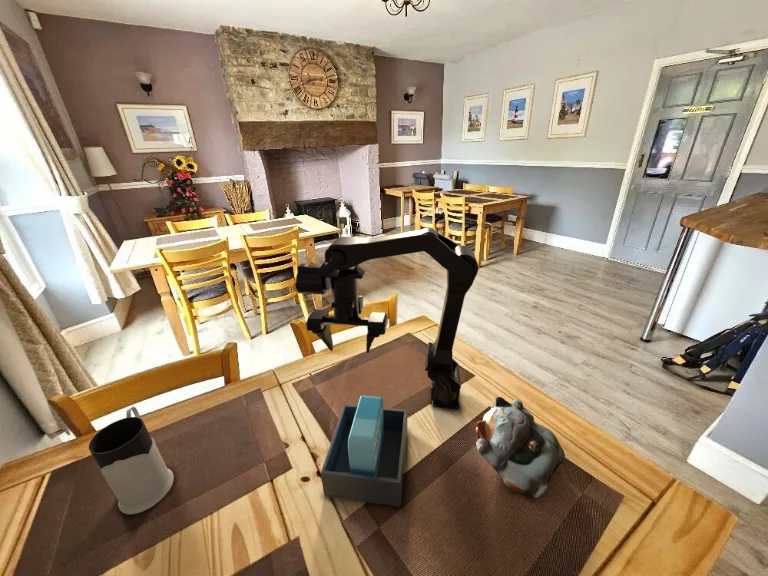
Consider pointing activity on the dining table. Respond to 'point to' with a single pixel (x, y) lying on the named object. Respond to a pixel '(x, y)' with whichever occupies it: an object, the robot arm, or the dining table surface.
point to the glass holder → (131, 463)
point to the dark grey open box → (390, 467)
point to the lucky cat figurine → (518, 447)
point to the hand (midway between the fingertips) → (349, 351)
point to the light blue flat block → (366, 437)
